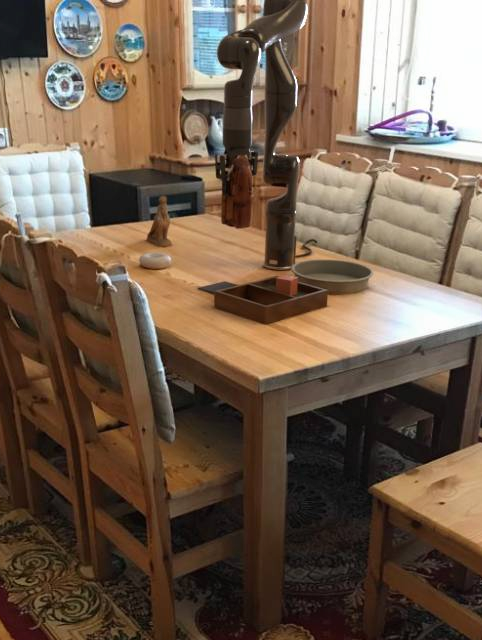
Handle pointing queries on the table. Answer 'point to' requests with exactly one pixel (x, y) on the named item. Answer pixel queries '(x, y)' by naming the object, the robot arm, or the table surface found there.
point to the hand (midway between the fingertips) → (236, 194)
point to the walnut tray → (269, 300)
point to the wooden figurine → (238, 196)
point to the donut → (155, 260)
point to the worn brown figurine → (160, 224)
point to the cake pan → (333, 275)
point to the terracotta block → (287, 284)
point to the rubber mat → (216, 287)
